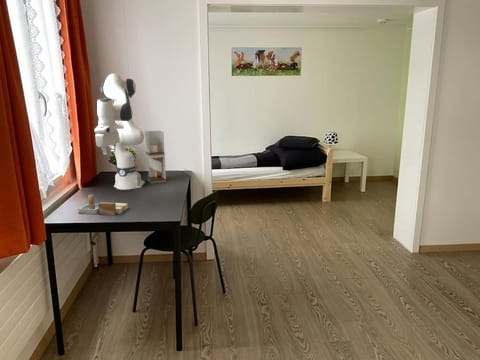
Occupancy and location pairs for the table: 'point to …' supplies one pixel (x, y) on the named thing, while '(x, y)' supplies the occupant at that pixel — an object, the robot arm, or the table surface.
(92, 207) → the dowel
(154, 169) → the display case
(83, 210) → the tray
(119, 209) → the board
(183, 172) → the table surface
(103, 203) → the wooden block
